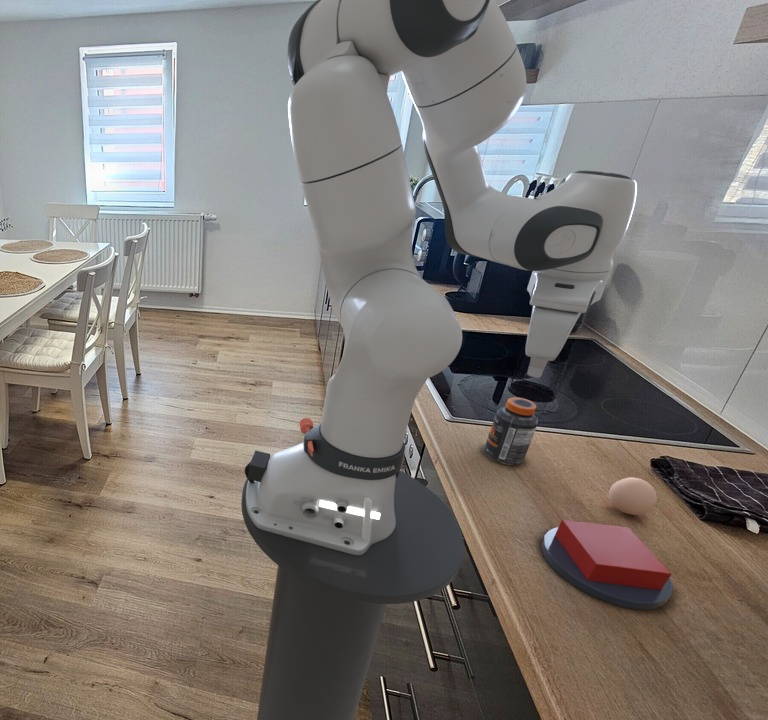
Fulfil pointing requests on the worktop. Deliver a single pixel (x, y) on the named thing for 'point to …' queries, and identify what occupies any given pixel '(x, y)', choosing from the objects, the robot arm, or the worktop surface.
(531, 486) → the worktop surface
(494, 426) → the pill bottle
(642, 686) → the worktop surface
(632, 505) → the egg
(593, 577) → the red block
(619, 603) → the plate
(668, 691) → the worktop surface
